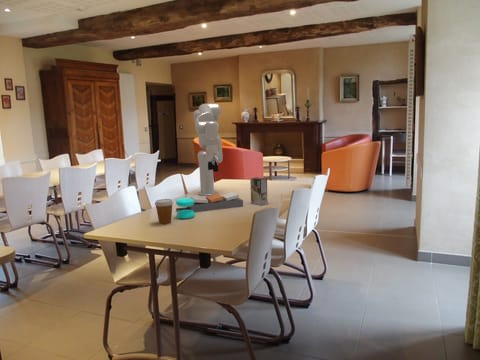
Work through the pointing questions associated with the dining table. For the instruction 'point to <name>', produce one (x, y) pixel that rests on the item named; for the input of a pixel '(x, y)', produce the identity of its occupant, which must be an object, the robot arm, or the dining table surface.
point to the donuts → (185, 203)
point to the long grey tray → (213, 205)
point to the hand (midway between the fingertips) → (213, 170)
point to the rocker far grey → (230, 196)
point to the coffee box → (259, 191)
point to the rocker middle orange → (214, 197)
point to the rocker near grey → (199, 199)
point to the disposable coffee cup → (164, 210)
